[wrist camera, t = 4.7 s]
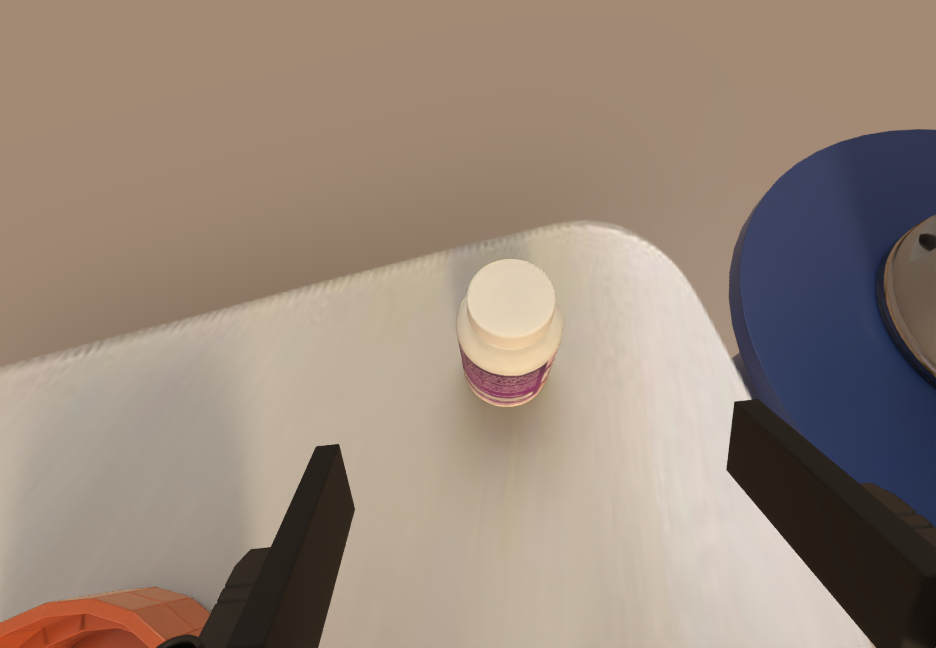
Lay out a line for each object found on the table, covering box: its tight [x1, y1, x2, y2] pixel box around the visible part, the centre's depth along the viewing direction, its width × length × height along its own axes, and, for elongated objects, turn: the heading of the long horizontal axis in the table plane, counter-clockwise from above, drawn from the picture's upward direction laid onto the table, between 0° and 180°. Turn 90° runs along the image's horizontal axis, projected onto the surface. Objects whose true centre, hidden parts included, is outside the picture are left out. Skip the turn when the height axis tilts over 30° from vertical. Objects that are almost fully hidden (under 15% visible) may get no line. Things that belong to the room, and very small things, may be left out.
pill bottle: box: [456, 259, 563, 407], centre depth 25 cm, size 5×5×10 cm
